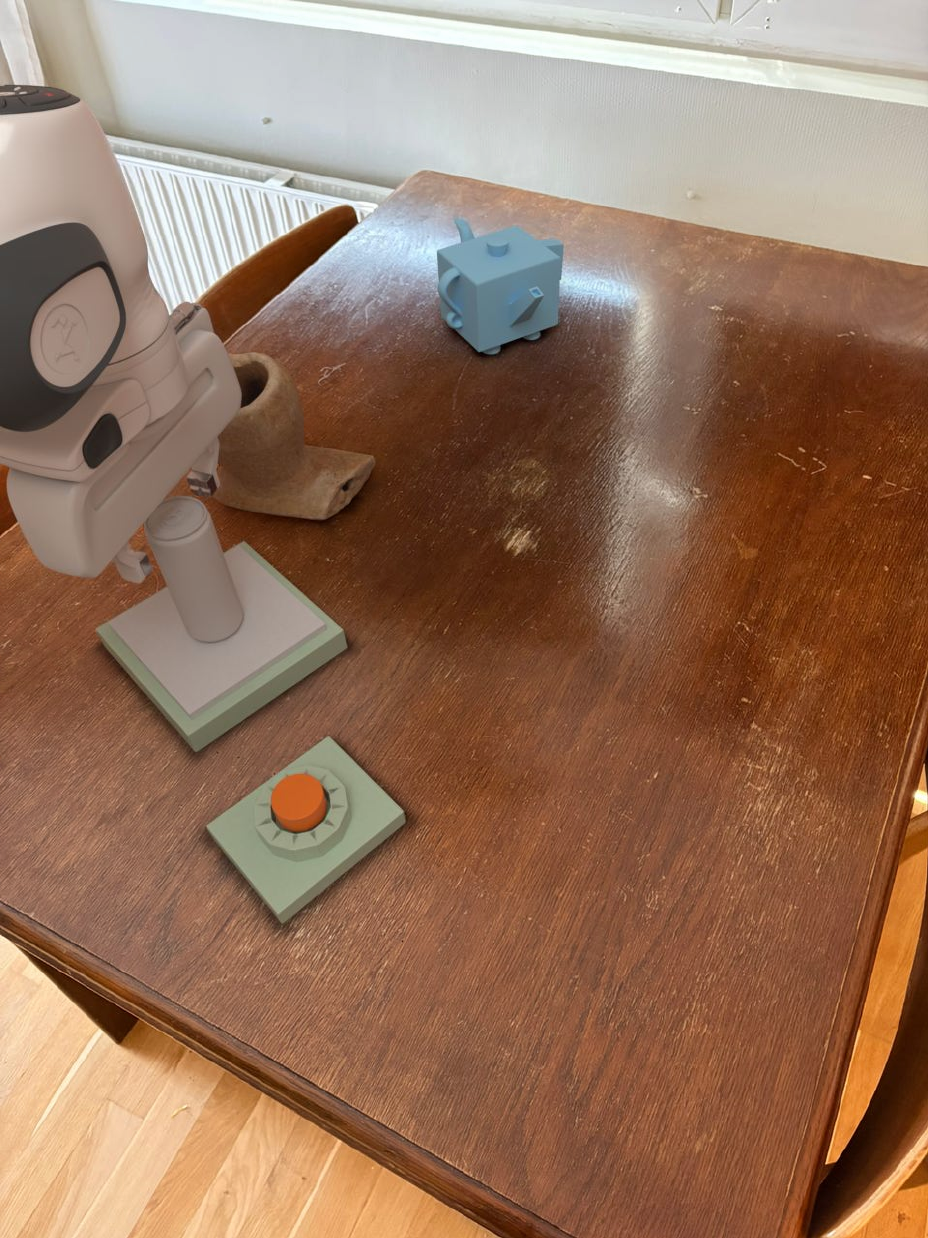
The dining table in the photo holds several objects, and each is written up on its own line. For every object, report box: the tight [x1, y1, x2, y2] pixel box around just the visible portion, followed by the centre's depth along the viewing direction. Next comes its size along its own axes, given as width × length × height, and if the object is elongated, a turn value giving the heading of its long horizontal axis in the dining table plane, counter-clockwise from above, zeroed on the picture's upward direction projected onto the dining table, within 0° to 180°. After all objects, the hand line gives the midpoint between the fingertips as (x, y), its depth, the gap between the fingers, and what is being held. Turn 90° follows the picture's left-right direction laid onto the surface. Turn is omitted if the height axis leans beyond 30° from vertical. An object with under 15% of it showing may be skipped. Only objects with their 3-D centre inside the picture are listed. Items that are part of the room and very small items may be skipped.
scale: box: [95, 540, 348, 753], centre depth 75 cm, size 15×15×3 cm
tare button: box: [271, 774, 327, 832], centre depth 62 cm, size 4×4×2 cm
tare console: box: [206, 735, 407, 925], centre depth 64 cm, size 11×9×4 cm
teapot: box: [436, 217, 565, 355], centre depth 103 cm, size 16×18×11 cm
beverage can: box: [143, 495, 243, 642], centre depth 70 cm, size 5×5×12 cm
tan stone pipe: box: [211, 351, 376, 521], centre depth 83 cm, size 15×12×15 cm
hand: (174, 531), depth 67 cm, fingers open, 8 cm apart
